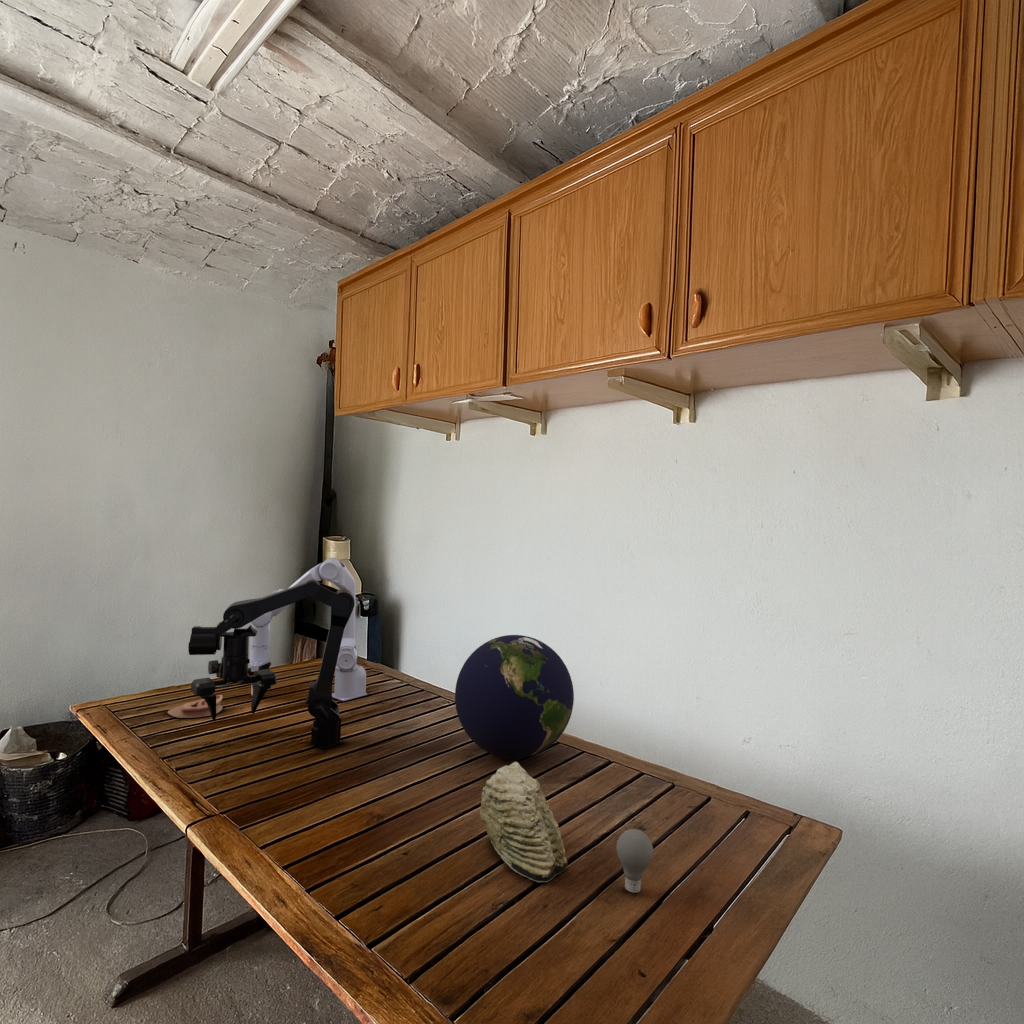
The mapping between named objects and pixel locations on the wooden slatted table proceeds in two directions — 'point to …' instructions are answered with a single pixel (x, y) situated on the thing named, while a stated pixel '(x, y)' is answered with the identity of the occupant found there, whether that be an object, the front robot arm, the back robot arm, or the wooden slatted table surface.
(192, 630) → the front robot arm
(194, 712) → the anatomical model
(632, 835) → the light bulb
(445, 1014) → the wooden slatted table surface
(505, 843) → the fossil
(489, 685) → the globe
